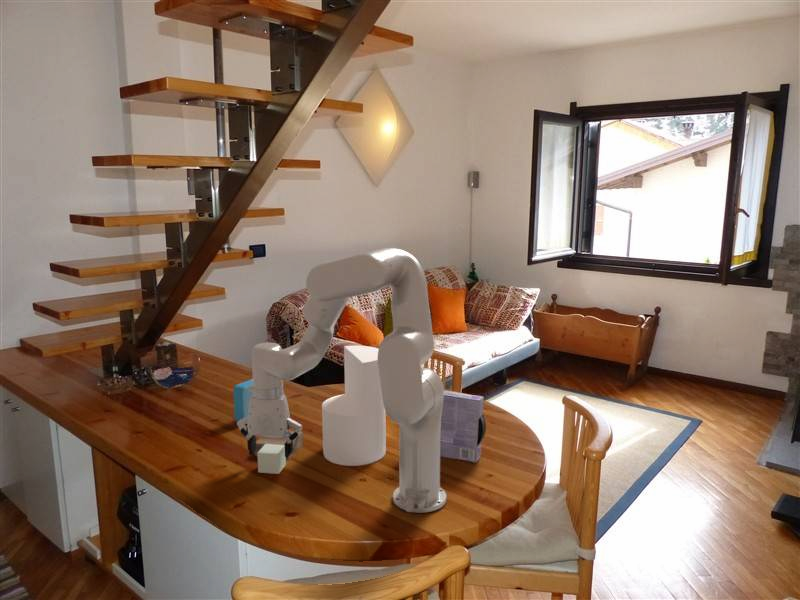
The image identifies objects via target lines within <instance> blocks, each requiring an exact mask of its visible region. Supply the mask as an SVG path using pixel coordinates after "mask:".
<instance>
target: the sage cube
mask: <svg viewBox="0 0 800 600" xmlns="http://www.w3.org/2000/svg"><path fill="white" fill-rule="evenodd" d="M256 457H257V473H262V474H276V475H280V473H281V471H282V470H283V469H284V468H285V466H286V465H287V459H286V457H285V445H276V444H265V445H264V446H263V447H262V448H261V449H260V450H259V452H258V453H257V456H256Z"/></svg>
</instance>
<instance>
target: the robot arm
mask: <svg viewBox="0 0 800 600" xmlns="http://www.w3.org/2000/svg"><path fill="white" fill-rule="evenodd" d="M305 287H306V291H307V293H308V295H309V297H307V300H306V301H305V303H304V305H303V307H302V310H301V313H302V316H303V319H305V321H306V322H308V326H307V328H306V330H305V332H304V333H303V336H302V337H301V339H300V340H299V342H297V343H295V344H293V345H290V346H288V347H286V348H282V346H281V345H280V344H279V343H275V342H260V343H257V344H255V345H254V346H253V347H252V350H251V365H252V366H251V368H252V369H251V370H252V372H251V373H252V379H253V385H252V386H249V387H248V391H251V392H253V395H252V396H251V397H250V401H249V409H248V417H246V418H243V419H241V420H239V421H236V425H237V426H238V429H239V430H240V433H241V434H242V435H243V437H245V440H246V441H247V450H248V455H250V456H252V455H253V454H255V451H256V441H257V437H262V436H265V437H283V438H284V439H285V441H286V443H285V457H286V458H288V457H289V456H290V454H291V453H292V452H293V440H294V439H295V438H296V437H297V436H298V435H299V433H300V432H302V429H303V428H304V427H303V424H300V423H299V422H297V421H296V420H294V419H292V418H291V417H290V415H291V414H290V409H289V407H290V406H289V403H288V400H287V396H286V394H285V393H284V381H292V380H294V379H296V378H298V377H300V376H301V375H303V374H305V373H307V372H310V370H313V369H314V368H315V367H317V366H318V364H319V363H320V362H321V361H322V359H323V358H324V355H325V354H326V352H327V351H328V350H329V347H330V345H331V343H332V341H333V337H334V332H335V325H336V323H337V321H338V320H339V318H340V316H341V314H342V313H343V310H344V309H345V307H346V305H347V304H348V302H349V300H350V299H351V298H353V297H356V296H361V295H365V294H371V293H374V292H377V291H379V290H383V289H384V288H387V287H390V288H391V292H392V293H391V299H390V300H391V301H390V302H391V303H390V310H391V316H392V328H393V329H392V332H390V333H389V334H387V335H386V336H385V337H384V338H383V339H382V340H381V343H380V344H379V347H378V349H379V350H378V368H379V376H380V384H381V392H382V399H383V404H384V408H385V410H386V415H387V416H388V417H389V418H390V420H391V421H392V422H394V423H395V424H397V425H399V428H398V429H399V431H398V432H399V436H398V437H399V439H398V440H399V441H398V442H399V443H398V446H399V451H398V452H399V453H398V455H399V457H398V458H399V459H398V460H399V463H398V464H399V467H398V468H399V471H398V472H399V475H398V476H399V480H398V482H399V484H398V485H399V486H398V487H397V488H395V490H394V491H393V494H392V502H393V503H394V504H395V506H397V507H398V508H399V509H401V510H404V511H406V512H407V513H414V514H415V513H416V514H417V513H418V514H421V513H422V514H425V513H430V512H435V511H438V510H439V509H441V508H442V507H444V505H445V504H446V502H447V493H446V490H444V489H443V488H442V487H441V457H440V438H441V416H442V408H443V400H444V391H445V389H444V387H445V386H444V383H443V381H442V379H441V377H440V376H439V374H438V373H437V372H436V371H435V370H433V369H431V368H427V367H422V366H423V365H424V364H425V363H427V362H428V360H430V359H431V357H432V356H433V355H434V352H435V341H434V334H433V326H432V325H433V324H432V316H431V309H430V302H429V292H428V284H427V278H426V273H425V271H424V267H422V265H421V263H420V261H419V260H418V259H417V258H416V257H415V256H413V254H412V253H409V252H408V251H405V250H403V249H401V248H397V247H382V248H378V249H374V250H371V251H366V252H363V253H362V252H361V253H360V254H356V255H351V256H348V257H344V258H341V259H334V260H329V261H326V262H322V263H319V264H316V265H315V266H313V267H312V268H311V269H310V271H308V274H307V276H306V279H305ZM245 423H248V424H247V426H246V424H245ZM291 428H293V429H294V431H295V432H294V433H293V434H292V433H291V432H290V431H291V430H290V429H291Z"/></svg>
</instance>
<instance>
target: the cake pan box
mask: <svg viewBox="0 0 800 600" xmlns="http://www.w3.org/2000/svg"><path fill="white" fill-rule="evenodd" d="M484 400H485V398H484V396H482V395H476V394H474V395H473V394H468V393H461V392H457V391H450V390H449V391H448V390H444V400H443V408H442V416H441V438H440V458H445V459H446V458H447V459H454V460H461V461H465V462H471V463H477V462H479V460H480V458H481V456H482V455H481V454H482V443H483V442H482V441H483V439H484V438H485V435H486V429H487V423H486V418H485V415H484V403H485V401H484Z"/></svg>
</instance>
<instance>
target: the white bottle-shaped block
mask: <svg viewBox="0 0 800 600" xmlns="http://www.w3.org/2000/svg"><path fill="white" fill-rule="evenodd" d="M378 350H379V347H375V346H369V345H368V346H367V345H344V346H343V356H344V357H343V359H344V360H343V361H344V362H343V363H344V367H343V368H344V393H342V394H338V395H335V396H332V397H330V398H327V399H326V400H324V401H323V402H322V405H321V412H322V413H321V415H322V416H321V417H322V418H321V420H322V421H321V422H322V449H323V450H322V454H323V457H324V458H325V459H326V460H327V461H328V462H331V463H333V464H337V465H340V466H350V467H351V466H352V467H353V466H355V467H356V466H358V467H359V466H365V465H369V464H373V463H376V462H377V461H379V460H381V459H382V458H384V457H385V455H386V452H387V448H386V447H387V445H386V444H387V437H386V436H387V435H386V433H387V430H386V428H387V426H386V425H387V424H386V423H387V422H386V420H387V419H386V418H387V417H386V415H387V413H386V410H385V408H384V404H383V399H382V392H381V384H380V376H379V368H378Z"/></svg>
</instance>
